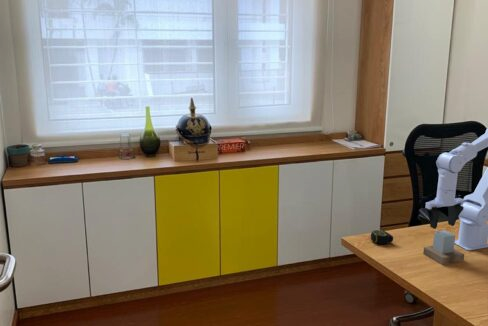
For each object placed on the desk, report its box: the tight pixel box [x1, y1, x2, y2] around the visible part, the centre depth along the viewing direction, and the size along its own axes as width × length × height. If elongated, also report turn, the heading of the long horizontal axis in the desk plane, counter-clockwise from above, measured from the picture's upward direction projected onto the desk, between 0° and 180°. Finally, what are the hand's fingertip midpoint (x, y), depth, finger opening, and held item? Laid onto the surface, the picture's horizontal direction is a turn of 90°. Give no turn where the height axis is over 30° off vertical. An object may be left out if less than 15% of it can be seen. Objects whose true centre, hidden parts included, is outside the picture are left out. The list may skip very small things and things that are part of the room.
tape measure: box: [370, 229, 394, 245], centre depth 178 cm, size 7×7×4 cm
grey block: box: [432, 229, 456, 254], centre depth 165 cm, size 5×5×6 cm
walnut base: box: [422, 245, 465, 266], centre depth 165 cm, size 9×9×3 cm
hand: (442, 226), depth 168 cm, fingers open, 7 cm apart
